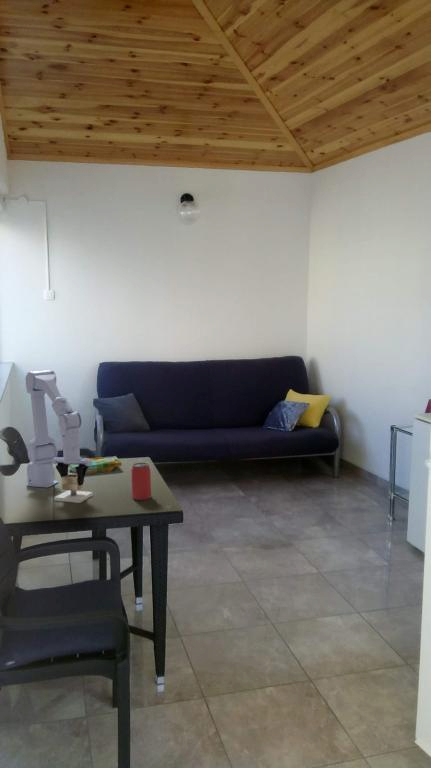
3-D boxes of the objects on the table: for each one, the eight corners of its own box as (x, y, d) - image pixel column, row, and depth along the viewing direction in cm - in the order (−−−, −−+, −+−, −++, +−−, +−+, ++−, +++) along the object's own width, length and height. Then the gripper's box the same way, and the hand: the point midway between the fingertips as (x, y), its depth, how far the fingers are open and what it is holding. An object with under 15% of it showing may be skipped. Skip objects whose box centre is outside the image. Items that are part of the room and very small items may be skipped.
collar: (62, 489, 235) (61, 477, 234) (70, 485, 240) (70, 473, 239) (76, 490, 233) (75, 478, 232) (84, 486, 238) (83, 474, 237)
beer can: (151, 499, 232) (150, 466, 231) (132, 501, 231) (131, 467, 230) (150, 494, 239) (149, 461, 237) (132, 495, 238) (130, 462, 236)
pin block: (54, 500, 234) (53, 487, 234) (68, 493, 243) (67, 480, 242) (79, 502, 231) (78, 489, 230) (92, 495, 239) (92, 482, 239)
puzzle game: (67, 459, 277) (115, 454, 283) (68, 470, 277) (116, 465, 284) (71, 465, 266) (121, 460, 272) (72, 477, 266) (121, 471, 273)
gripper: (47, 448, 233) (49, 485, 235) (83, 450, 228) (85, 488, 230) (58, 443, 240) (60, 480, 241) (93, 445, 235) (95, 483, 237)
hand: (73, 484), depth 236 cm, fingers closed on collar, 6 cm apart
